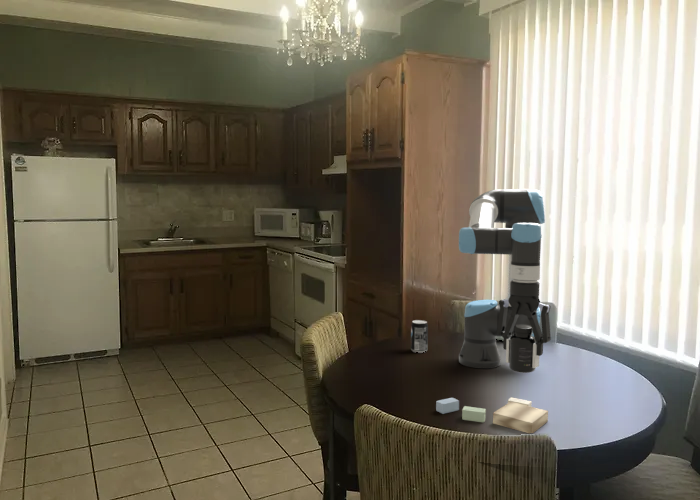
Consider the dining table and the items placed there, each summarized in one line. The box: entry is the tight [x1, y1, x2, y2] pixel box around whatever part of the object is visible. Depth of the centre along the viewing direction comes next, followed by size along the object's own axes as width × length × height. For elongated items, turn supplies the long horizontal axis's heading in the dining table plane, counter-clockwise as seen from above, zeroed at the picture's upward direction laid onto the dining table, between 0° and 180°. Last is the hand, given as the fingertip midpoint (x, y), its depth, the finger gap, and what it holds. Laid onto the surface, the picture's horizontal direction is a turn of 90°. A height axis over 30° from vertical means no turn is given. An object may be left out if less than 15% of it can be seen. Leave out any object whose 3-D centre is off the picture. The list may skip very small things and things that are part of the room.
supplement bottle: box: [508, 325, 536, 374], centre depth 155 cm, size 7×7×12 cm
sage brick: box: [461, 405, 487, 423], centre depth 160 cm, size 6×3×3 cm, turn 69°
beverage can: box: [410, 319, 429, 354], centre depth 229 cm, size 7×7×12 cm
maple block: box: [492, 402, 549, 434], centre depth 157 cm, size 11×11×3 cm
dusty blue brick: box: [435, 397, 460, 415], centre depth 166 cm, size 6×3×3 cm, turn 120°
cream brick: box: [507, 396, 533, 407], centre depth 166 cm, size 6×3×3 cm, turn 56°
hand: (522, 364), depth 156 cm, fingers closed on supplement bottle, 7 cm apart
